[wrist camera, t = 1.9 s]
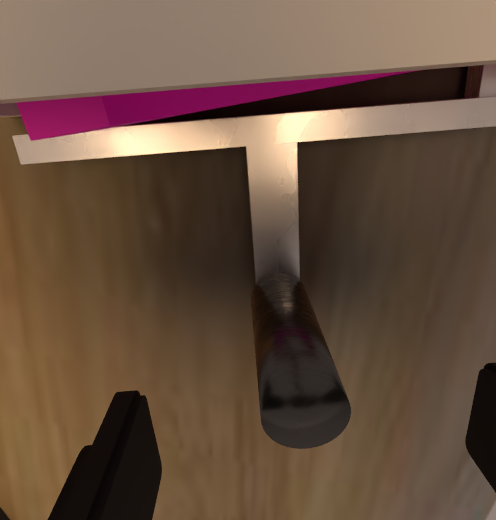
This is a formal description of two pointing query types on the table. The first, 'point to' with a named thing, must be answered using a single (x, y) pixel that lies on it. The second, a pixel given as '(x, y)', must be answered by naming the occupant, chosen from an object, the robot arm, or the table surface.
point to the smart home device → (3, 515)
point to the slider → (282, 229)
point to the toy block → (159, 104)
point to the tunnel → (226, 43)
